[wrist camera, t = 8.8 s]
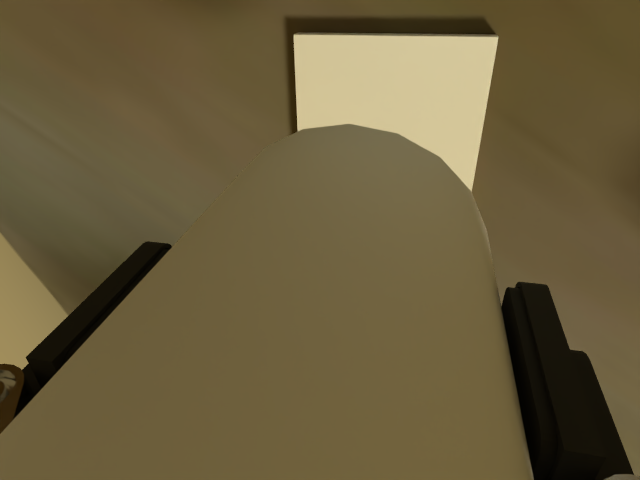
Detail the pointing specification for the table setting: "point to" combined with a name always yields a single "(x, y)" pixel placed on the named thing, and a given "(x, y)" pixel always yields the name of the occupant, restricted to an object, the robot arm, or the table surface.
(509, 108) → the table surface
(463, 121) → the tile
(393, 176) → the can
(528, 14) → the table surface
